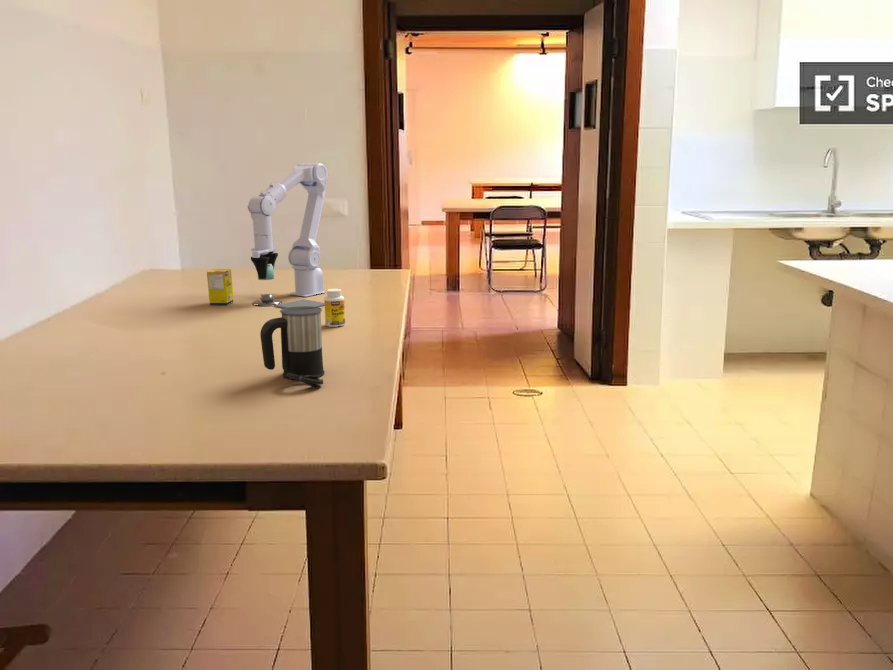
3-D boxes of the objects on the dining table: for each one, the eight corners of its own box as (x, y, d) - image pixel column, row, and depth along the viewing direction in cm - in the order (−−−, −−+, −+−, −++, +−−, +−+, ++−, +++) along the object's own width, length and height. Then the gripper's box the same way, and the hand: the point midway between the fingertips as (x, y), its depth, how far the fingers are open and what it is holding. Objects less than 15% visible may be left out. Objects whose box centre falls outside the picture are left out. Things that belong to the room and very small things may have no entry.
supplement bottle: (330, 328, 221) (329, 292, 219) (322, 325, 226) (320, 289, 224) (348, 325, 224) (347, 290, 222) (340, 322, 229) (338, 287, 227)
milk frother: (306, 366, 184) (303, 303, 181) (354, 378, 174) (351, 312, 171) (256, 380, 174) (251, 314, 170) (304, 394, 164) (300, 324, 160)
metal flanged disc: (269, 299, 263) (269, 291, 263) (287, 302, 258) (287, 294, 257) (247, 304, 257) (246, 295, 256) (265, 307, 251) (264, 298, 250)
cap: (276, 277, 257) (275, 263, 256) (270, 280, 253) (269, 265, 251) (261, 277, 258) (260, 262, 257) (255, 279, 253) (254, 265, 252)
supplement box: (234, 301, 261) (231, 268, 258) (227, 305, 255) (224, 271, 252) (216, 301, 261) (213, 268, 259) (209, 305, 255) (206, 271, 253)
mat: (303, 300, 261) (303, 299, 261) (328, 305, 254) (328, 303, 253) (274, 306, 252) (274, 305, 252) (299, 311, 245) (299, 309, 244)
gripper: (260, 232, 260) (262, 273, 263) (241, 237, 246) (245, 280, 249) (280, 232, 258) (283, 273, 262) (263, 237, 245) (266, 281, 248)
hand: (266, 277), depth 255 cm, fingers closed on cap, 5 cm apart
